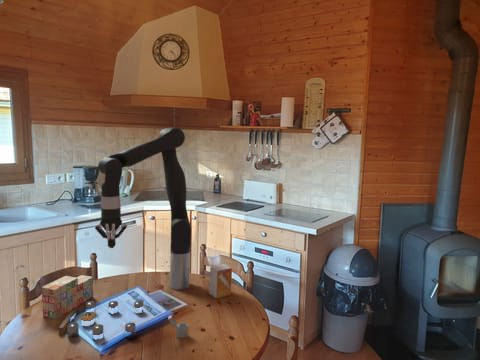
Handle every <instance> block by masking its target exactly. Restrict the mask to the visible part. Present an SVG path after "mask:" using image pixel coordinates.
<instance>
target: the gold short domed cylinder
mask: <svg viewBox="0 0 480 360" xmlns="http://www.w3.org/2000/svg"><path fill="white" fill-rule="evenodd" d="M94 318H95V319H96V312H95V313H94V312H83V313H81V314H80V321H81V320H83V321H91V320H93V319H94Z"/></svg>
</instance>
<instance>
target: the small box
mask: <svg viewBox="0 0 480 360" xmlns="http://www.w3.org/2000/svg"><path fill="white" fill-rule="evenodd" d="M232 272H233V268H232V267H231V266H229V265H228V264H226V263H222V264H217V265H212V266H210V268H209V289H208V290H209V291H208V292H209V295H210V296H212V297H214V298H215V299H218V298H222V297H227V296H230V295H232V293H231V291H232V275H233V273H232Z"/></svg>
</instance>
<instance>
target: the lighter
mask: <svg viewBox="0 0 480 360" xmlns="http://www.w3.org/2000/svg"><path fill="white" fill-rule="evenodd" d="M167 319H168V322H169V323H170V325H171V327H172V329H174V328H175V334H176V335H175V337H176V338H177V339H178V338H179V339H180V338H181V339H182V338H188V335H189V324H188V323H187V322H185V321H180V322H179V323H177V322H176V320H175V319H174V316H173V315H172V314H171V315H169V316H168V317H167Z"/></svg>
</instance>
